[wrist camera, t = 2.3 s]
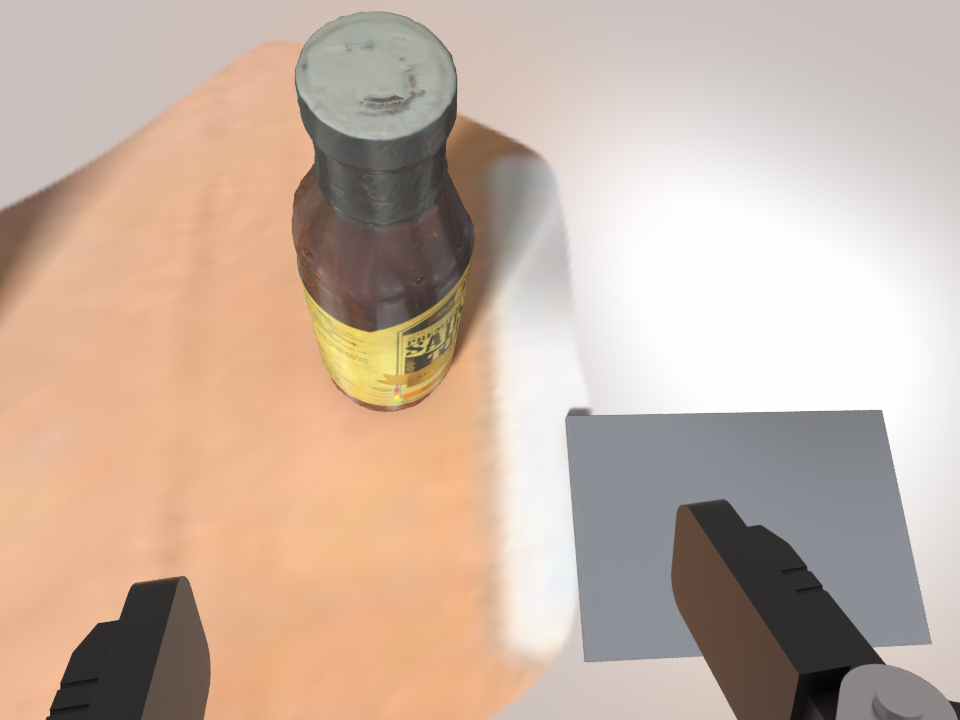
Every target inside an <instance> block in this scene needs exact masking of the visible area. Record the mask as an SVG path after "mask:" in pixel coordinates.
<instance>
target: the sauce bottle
mask: <svg viewBox="0 0 960 720" xmlns="http://www.w3.org/2000/svg"><path fill="white" fill-rule="evenodd" d="M295 86H296V91H297V95H298V104H299V107H300V113H301V118H302V121H303V124H304V126H305V129H306V131H307V132H308V134H309V136H310V137H311V139H312V140H313V144H314V149H315V164H313V165H312V168H311V169H310V170H309V172H308V173H307V174H306V176H304V178H303V179H302V180H301V182H300V185H299V187H298V189H297V190H296V192H295V194H294V203H293V216H292V234H293V240H294V245H295V249H296V253H297V265H298V271H299V275H300V279H301V283H302V286H303V290H304V294H305V298H306V301H307V305H308V308H309V312H310V315H311V319H312V323H313V327H314V331H315V335H316V339H317V342H318V346H319V349H320V353H321V357H322V361H323V364H324V366H325V368H326V370H327V372H328V373H329V375H330V376H331V379H332V381H333V382H334V384H335V385H336V387H337V388H338V389H339V390H340V391H342V392H343V393H344V395H346V396H347V397H349V398H350V399H351V400H353V401H354V402H355V403H358V404H359V405H361V406H363V407H366V408H368V409H370V410H375V411H382V412H388V411H399V410H403V409H405V408H409V407H413V406H415V405H417V404H419V403H420V402H421V401H423V400H424V399H425V398H426V397H427V396H429V395H430V394H431V392H432V391H433V390H434V389H435V388H436V387H437V386H438V385H439V384H440V383H441V380H442V379H443V378H444V376H445V375H446V373H447V371H448V369H449V367H450V365H451V362H452V359H453V354H454V349H455V344H456V339H457V333H458V328H459V323H460V318H461V313H462V307H463V303H464V299H465V292H466V286H467V280H468V275H469V270H470V265H471V260H472V254H473V248H474V230H473V225H472V222H471V218H470V216H469V214H468V213H467V211H466V209H465V208H464V206H463V204H462V202H461V200H460V197H459V195H458V193H457V191H456V189H455V187H454V185H453V182H452V180H451V178H450V176H449V174H448V172H447V168H448V165H447V160H446V157H445V154H446V141H447V138H448V136H449V134H450V132H451V130H452V128H453V126H454V123H455V120H456V113H457V74H456V68H455V65H454V63H453V59H452V55H451V54H450V52H449V51H448V50H447V48H446V47H445V46H444V45H443V43H442V42H441V41H440V40H439V39H438V38H437V37H436V36H435V35H434V34H433V33H432V32H431V31H430V30H429V29H428V28H426V27H425V26H424V25H422V24H420V23H418V22H415V21H413V20H412V19H410V18H408V17H405V16H401V15H397V14H394V13H388V12H359V13H355V14H352V15H349V16H341V17H339V18H338V19H336V20H334V21H332V22H329V23H327V24H325V25H324V26H323V27H321V28H320V29H319V30H318V31H316V32H315V33H314V34H313V35H312V36H311V37H310V38H309V39H308V41H307V42H306V43H305V45H304V47H303V49H302V51H301V54H300V57H299V60H298V63H297V66H296V69H295Z"/></svg>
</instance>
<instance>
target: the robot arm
mask: <svg viewBox="0 0 960 720" xmlns="http://www.w3.org/2000/svg"><path fill="white" fill-rule="evenodd" d="M671 583H672V590H673V594H674V598H675V602H676V605H677V607H678V610H679V612H680V614H681V616H682V617H683V619H684V621H685V623H686V625H687V627H688V629H689V630H690V632H691V634H692V636H693V638H694V640H695V642H696V643H697V645H698V647H699V649H700V651H701V653H702V655H703V656H704V658H705V660H706V662H707V664H708V666H709V667H710V669H711V671H712V673H713V675H714V677H715V678H716V680H717V682H718V684H719V686H720V688H721V690H722V692H723V693H724V695H725V697H726V699H727V701H728V703H729V705H730V706H731V708H732V710H733V712H734V714H735V716H736V717H737V719H738V720H960V703H959V702H953V701H949V700H947V699H946V698H945V697H944V695H943V694H942V693H941V692H940V691H939V690H938V689H937V688H935V687H934V686H933V685H931V684H930V683H929V682H927V681H926V680H924V679H923V678H921V677H919V676H917V675H915V674H913V673H911V672H909V671H907V670H904V669H901V668H898V667H894V666H890V665H886V664H885V663H884V662H883V661H882V659H881V658H880V657H879V655H878V654H877V653H876V652H875V650H874V649H873V648H872V647H871V645H870V644H869V643H868V642H867V640H866V639H865V638H864V637H863V635H862V634H861V633H860V632H859V630H858V629H857V628H856V627H855V625H854V624H853V623H852V622H851V620H850V619H849V618H848V617H847V615H846V614H845V613H844V612H843V610H842V609H841V608H840V607H839V605H838V604H837V603H836V602H835V600H834V599H833V598H832V597H831V595H830V594H829V593H828V592H827V590H826V591H824V590H823V585H822V584H821V583H820V582H819V580H818V579H817V578H816V577H815V575H814V574H813V573H812V572H811V571H808V569H807V565H806V564H805V563H804V562H803V560H802V559H801V558H800V557H799V555H798V554H797V553H796V552H795V550H794V549H793V548H792V547H791V545H790V544H789V543H788V542H786V541H785V540H783V539H782V538H780V537H779V536H777V535H776V534H774V533H773V532H771V531H770V530H768V529H767V528H765V527H764V526H762V525H755V526H748V527H747V525H746V524H745V523H744V521H743V520H742V519H741V517H740V516H739V515H738V513H737V512H736V511H735V509H734V508H733V507H732V505H731V504H730V503H729V502H728V501H727V500H725V499H718V500H711V501H704V502H697V503H690V504H684V505H680V506H679V508H678V510H677V514H676V523H675V535H674V546H673V557H672V568H671ZM60 685H61V688H60V690H58V691H57V693H56V696H55V698H54V701H53V703H52V706H51V708H50V716H49V717H47V718H46V720H203V719H204V714H205V708H206V703H207V698H208V692H209V686H210V655H209V648H208V644H207V640H206V637H205V634H204V630H203V627H202V623H201V620H200V616H199V613H198V610H197V606H196V603H195V599H194V596H193V592H192V589H191V586H190V583H189V581H188V579H187V578H186V577H185V576H180V577H173V578H166V579H159V580H153V581H146V582H139V583H135V584H133V585H132V586H131V588H130V590H129V593H128V596H127V598H126V601H125V604H124V607H123V610H122V613H121V616H120V619H119V620H117V621H110V622H103V623H98V624H97V625H96V626H95V627H94V629H93V630H92V631H91V632H90V633H89V634H88V635H87V637H86V638H85V639H84V640H83V641H82V642H81V644H80V645H79V646H78V647H77V648H76V649H75V650H74V652H73V653H72V656H71V658H70V661H69V663H68V666H67V668H66V671H65V673H64V676H63V678H62V681H61V683H60Z"/></svg>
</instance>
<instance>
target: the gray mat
mask: <svg viewBox="0 0 960 720" xmlns="http://www.w3.org/2000/svg"><path fill="white" fill-rule="evenodd" d="M565 422H566V434H567V447H568V460H569V472H570V485H571V498H572V510H573V523H574V536H575V548H576V561H577V573H578V586H579V599H580V611H581V623H582V637H583V649H584V661H585V662H599V661H600V662H601V661H620V660H639V659H657V658H678V657H694V656H696V657H697V656H703V655H702V653H701V651H700V649H699V647H698V645H697V643H696V642H695V640H694V638H693V636H692V634H691V632H690V630H689V629H688V627H687V625H686V623H685V621H684V619H683V617H682V616H681V614H680V612H679V610H678V607H677V605H676V602H675V598H674V594H673V590H672V583H671V568H672V557H673V546H674V535H675V523H676V514H677V510H678V508H679V506H680V505H684V504H690V503H697V502H704V501H711V500H718V499H725V500H727V501H728V502H729V503H730V504H731V505H732V507H733V508H734V509H735V511H736V512H737V513H738V515H739V516H740V517H741V519H742V520H743V521H744V523H745V524H746V525H747V527H748V526H755V525H762V526H764V527H765V528H767V529H768V530H770V531H771V532H773V533H774V534H776V535H777V536H779V537H780V538H782V539H783V540H785V541H786V542H788V543H789V544H790V545H791V547H792V548H793V549H794V550H795V552H796V553H797V554H798V555H799V557H800V558H801V559H802V560H803V562H804V563H805V564H806V565H807V569H808V571H811V572H812V573H813V574H814V575H815V577H816V578H817V579H818V580H819V582H820V583H821V584H822V585H823V590H824V591H826V590H827V592H828V593H829V594H830V595H831V597H832V598H833V599H834V600H835V602H836V603H837V604H838V605H839V607H840V608H841V609H842V610H843V612H844V613H845V614H846V615H847V617H848V618H849V619H850V620H851V622H852V623H853V624H854V625H855V627H856V628H857V629H858V630H859V632H860V633H861V634H862V635H863V637H864V638H865V639H866V640H867V642H868V643H869V644H870V645H871V647H887V646H904V645H905V646H906V645H926V644H932V643H931V639H930V633H929V629H928V624H927V620H926V615H925V610H924V605H923V601H922V596H921V591H920V586H919V582H918V577H917V572H916V568H915V563H914V558H913V554H912V549H911V544H910V540H909V535H908V530H907V526H906V521H905V516H904V511H903V507H902V502H901V497H900V493H899V488H898V483H897V479H896V475H895V469H894V465H893V460H892V455H891V451H890V446H889V441H888V436H887V432H886V427H885V423H884V418H883V414H882V410H857V411H856V410H854V411H807V412H806V411H801V412H750V413H702V414H701V413H699V414H697V413H696V414H645V415H591V416H567V417H566V419H565Z"/></svg>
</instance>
